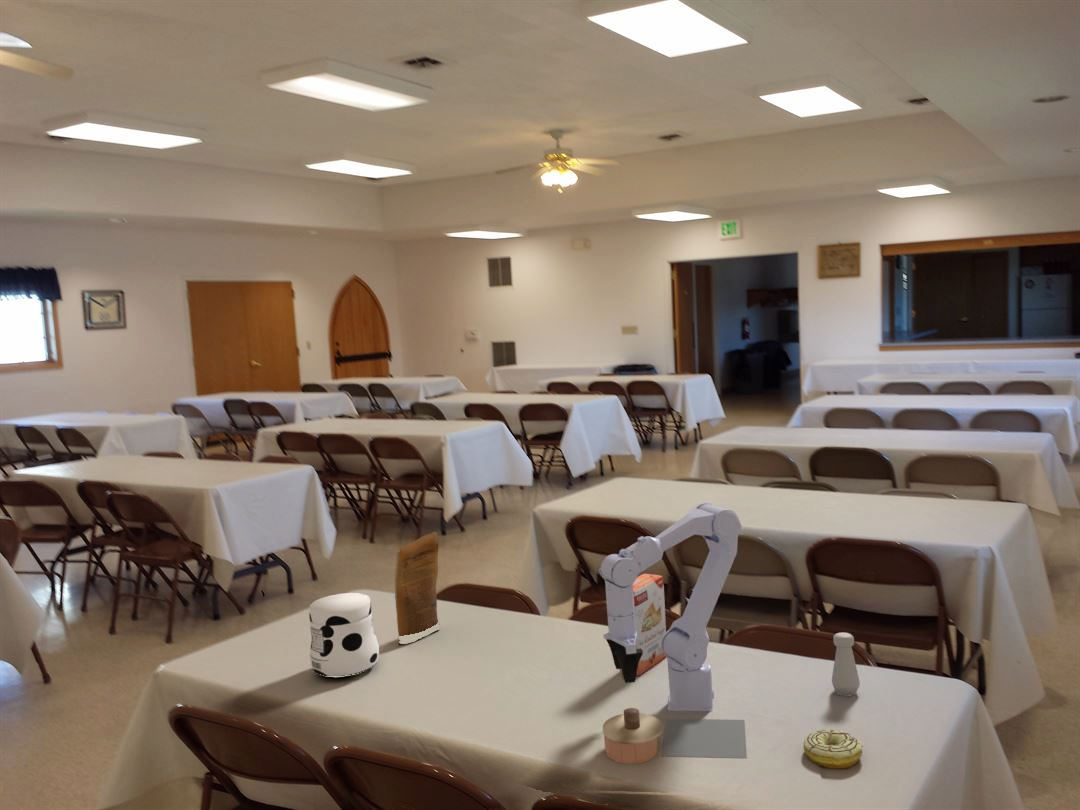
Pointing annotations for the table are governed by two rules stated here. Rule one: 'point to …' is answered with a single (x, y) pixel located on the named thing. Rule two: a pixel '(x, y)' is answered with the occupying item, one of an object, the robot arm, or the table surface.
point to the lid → (632, 727)
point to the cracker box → (649, 619)
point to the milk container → (342, 635)
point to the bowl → (630, 751)
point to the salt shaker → (844, 665)
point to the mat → (704, 738)
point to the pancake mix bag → (417, 585)
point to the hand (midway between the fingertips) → (625, 675)
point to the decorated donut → (832, 748)
